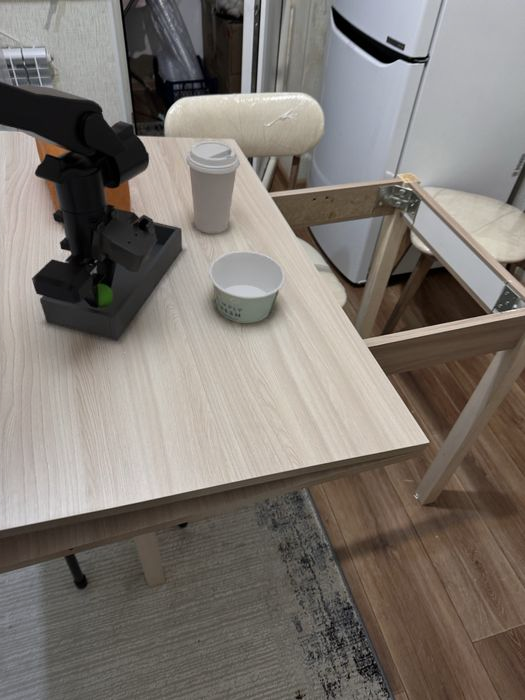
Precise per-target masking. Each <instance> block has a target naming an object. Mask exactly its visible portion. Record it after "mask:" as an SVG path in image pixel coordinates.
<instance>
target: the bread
mask: <svg viewBox="0 0 525 700" xmlns="http://www.w3.org/2000/svg"><path fill="white" fill-rule="evenodd" d="M34 141H35V145H36V150H37V154H38V157H39V162H40V164H41V163H42V162H43V160H44V158H45V155H46V154H49V155H52V156H55V157H57V156H59V155H61V154H63V153H65V152H67V151H68V150H66V149H63V148H60V147H57V146H54V145H51V144H48V143H45V142H42V141H40V140H38V139H36V138H34ZM45 182H46V185H47V188H48V190H49V191H48V192H49V193H50V196H51V199H52V202H53V205H54V208H55V212H56V211H57V210H58V209H59V204H58V200H57V195H56V191H55V186H54V183H53V182H51V181H48V180H45ZM105 192H106V199H107V204H109V205H113V206H114V208H116V209H120V210H125V211H129V212H132V206H131V204H132V203H131V191H130V183H129V181H127V182H125V183H124V184H122V185H121V186H119V187H117V188H114V189H112V188H107V187H105ZM61 224H62V225H63V223H61Z"/></svg>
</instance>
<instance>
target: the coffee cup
mask: <svg viewBox="0 0 525 700" xmlns="http://www.w3.org/2000/svg"><path fill="white" fill-rule="evenodd" d="M185 161H186V164H187V165H188V167H189V175H190V176H189V177H190V185H191V186H190V187H191V195H192V207H193V218H194V225H195V228H196V229H197V230H198V231H200V232H202V233H204V234H209V235H210V234H212V235H216V234H220V233H223V232H225V231H227V229H228V228H229V222H230V216H231V215H230V214H231V207H232V201H233V193H234V187H235V181H236V180H235V179H236V175H237V174H236V173H237V170H238V169H239V168H240V165H241V164H240V158H239V156H238V154H237V151H236V149H235V147H233V146H232V145H230V144H229V143H226V142H223V141H218V140H201V141H198V142H195V143H193V144H192V146H191V147H190V150H189V152H188V153H187V155H186V159H185Z"/></svg>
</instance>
